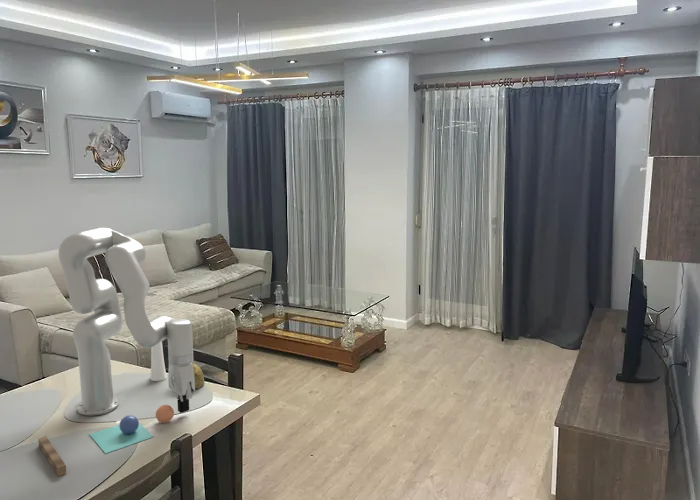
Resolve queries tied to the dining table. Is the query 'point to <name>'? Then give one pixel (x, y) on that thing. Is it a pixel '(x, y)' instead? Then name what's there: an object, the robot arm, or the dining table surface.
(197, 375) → the rock
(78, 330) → the robot arm
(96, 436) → the teal mark
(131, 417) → the navy ball
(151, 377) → the cosmetic bottle
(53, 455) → the walnut rail
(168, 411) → the orange ball
